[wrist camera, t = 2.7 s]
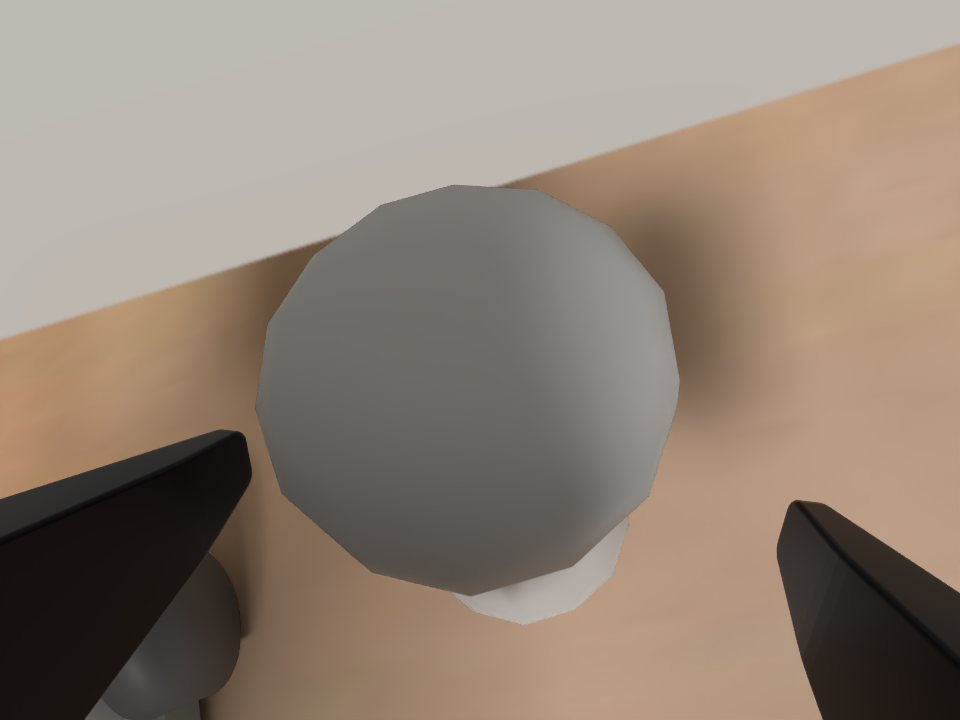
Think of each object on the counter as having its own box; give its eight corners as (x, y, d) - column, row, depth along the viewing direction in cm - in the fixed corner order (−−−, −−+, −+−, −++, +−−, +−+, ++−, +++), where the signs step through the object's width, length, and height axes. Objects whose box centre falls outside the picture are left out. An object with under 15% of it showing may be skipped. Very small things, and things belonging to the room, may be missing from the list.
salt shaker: (577, 655, 15) (681, 949, 3) (402, 565, 16) (-6, 510, 4) (642, 463, 16) (869, 155, 5) (479, 400, 18) (337, 47, 6)
